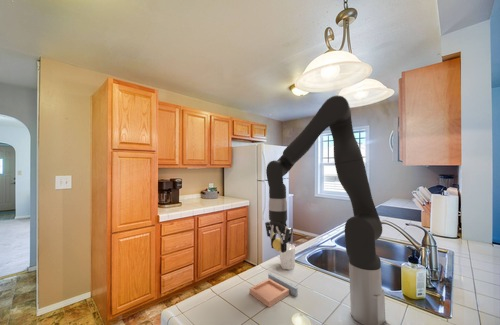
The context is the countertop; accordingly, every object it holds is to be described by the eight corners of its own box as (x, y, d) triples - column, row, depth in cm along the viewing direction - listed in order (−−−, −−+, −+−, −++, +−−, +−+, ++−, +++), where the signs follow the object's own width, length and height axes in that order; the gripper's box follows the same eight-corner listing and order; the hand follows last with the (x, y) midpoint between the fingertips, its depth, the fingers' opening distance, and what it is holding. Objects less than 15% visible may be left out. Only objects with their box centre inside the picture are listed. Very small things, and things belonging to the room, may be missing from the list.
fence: (297, 295, 80) (297, 287, 80) (296, 296, 79) (295, 288, 79) (270, 280, 92) (269, 273, 92) (268, 280, 91) (268, 273, 91)
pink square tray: (289, 294, 81) (289, 289, 81) (269, 307, 74) (269, 301, 74) (269, 283, 89) (269, 278, 89) (249, 293, 82) (249, 288, 82)
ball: (287, 251, 85) (287, 238, 85) (278, 254, 82) (278, 241, 82) (278, 247, 89) (278, 235, 89) (270, 250, 86) (270, 238, 86)
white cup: (294, 263, 107) (294, 243, 108) (296, 270, 99) (296, 249, 100) (279, 262, 108) (278, 243, 108) (280, 270, 100) (279, 249, 100)
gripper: (297, 210, 82) (298, 253, 82) (272, 205, 94) (273, 242, 93) (284, 212, 78) (285, 258, 78) (259, 207, 89) (260, 246, 89)
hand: (278, 249), depth 85 cm, fingers closed on ball, 5 cm apart
